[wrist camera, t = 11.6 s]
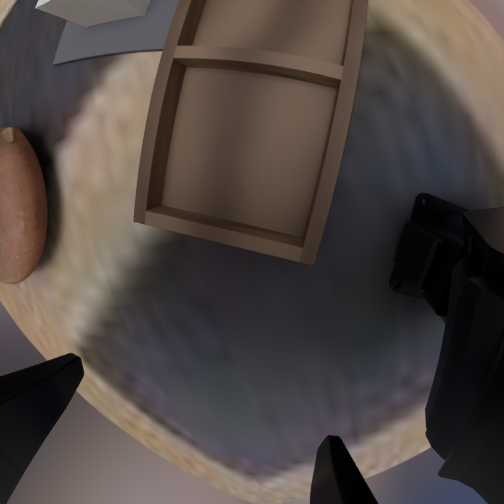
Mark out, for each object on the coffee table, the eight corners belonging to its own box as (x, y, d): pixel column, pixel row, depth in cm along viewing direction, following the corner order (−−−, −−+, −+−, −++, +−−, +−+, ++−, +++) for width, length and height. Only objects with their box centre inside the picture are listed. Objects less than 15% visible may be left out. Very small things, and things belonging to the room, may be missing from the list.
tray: (365, -28, 10) (371, -46, 8) (312, 251, 17) (313, 265, 15) (215, -45, 11) (206, -62, 9) (152, 213, 18) (133, 221, 16)
